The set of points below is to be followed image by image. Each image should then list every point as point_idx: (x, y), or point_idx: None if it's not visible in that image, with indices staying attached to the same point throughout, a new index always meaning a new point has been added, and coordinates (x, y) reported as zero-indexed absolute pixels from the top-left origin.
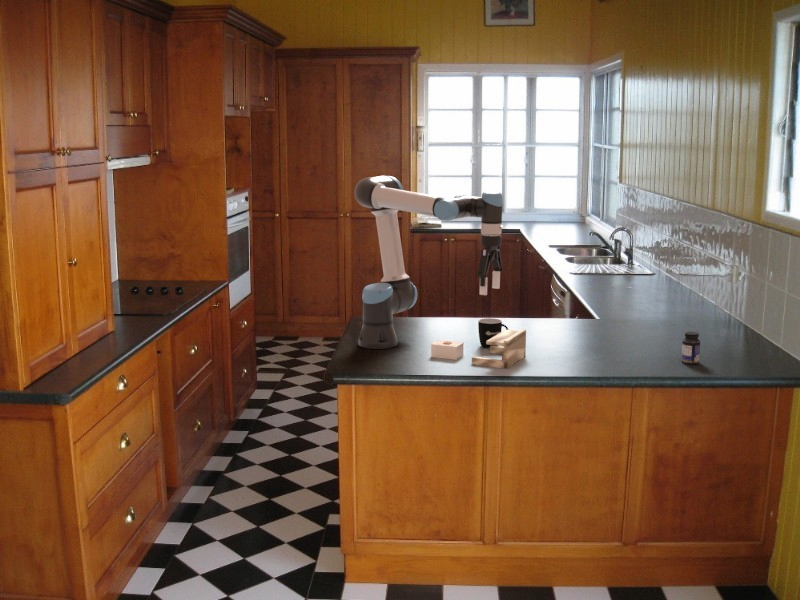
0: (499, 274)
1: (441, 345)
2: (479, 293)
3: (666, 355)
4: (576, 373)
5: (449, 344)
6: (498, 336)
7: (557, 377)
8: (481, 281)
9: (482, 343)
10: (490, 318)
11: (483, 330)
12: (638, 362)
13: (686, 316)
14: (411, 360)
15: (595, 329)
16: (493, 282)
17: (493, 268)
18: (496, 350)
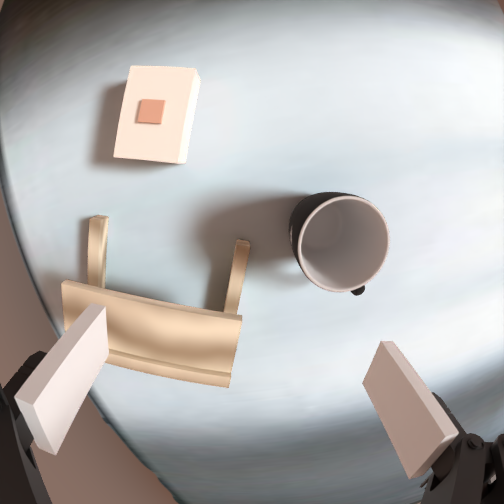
0: (402, 460)
1: (123, 102)
2: (87, 307)
3: (300, 497)
4: (134, 426)
5: (139, 123)
6: (128, 313)
7: (93, 400)
8: (16, 384)
9: (296, 206)
10: (387, 239)
11: (296, 219)
12: (247, 484)
13: None
14: (95, 47)
15: (464, 397)
16: (395, 376)
17: (457, 458)
18: (232, 263)
